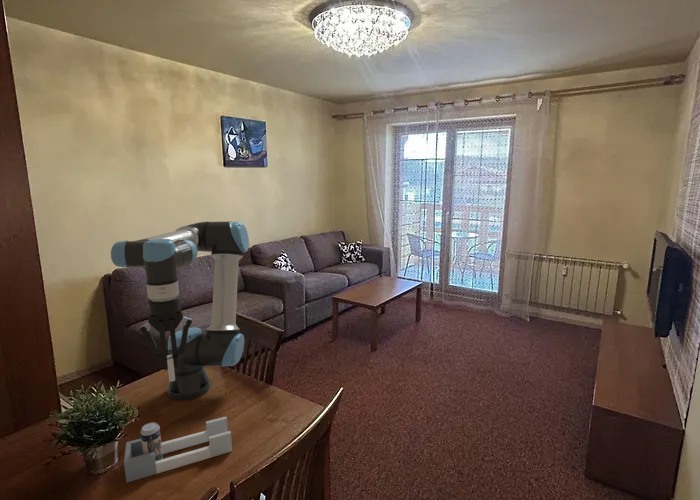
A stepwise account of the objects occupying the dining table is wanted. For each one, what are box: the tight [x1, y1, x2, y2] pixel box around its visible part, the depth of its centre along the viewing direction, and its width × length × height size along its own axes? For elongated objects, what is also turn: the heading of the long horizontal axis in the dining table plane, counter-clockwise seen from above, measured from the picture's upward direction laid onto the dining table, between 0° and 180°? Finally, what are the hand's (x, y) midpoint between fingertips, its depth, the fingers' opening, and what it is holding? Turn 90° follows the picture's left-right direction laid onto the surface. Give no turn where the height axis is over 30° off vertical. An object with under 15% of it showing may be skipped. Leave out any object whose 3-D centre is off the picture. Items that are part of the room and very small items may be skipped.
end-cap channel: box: [123, 416, 233, 484], centre depth 112 cm, size 9×27×6 cm, turn 116°
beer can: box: [139, 421, 164, 461], centre depth 108 cm, size 5×5×12 cm
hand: (172, 378), depth 108 cm, fingers closed
